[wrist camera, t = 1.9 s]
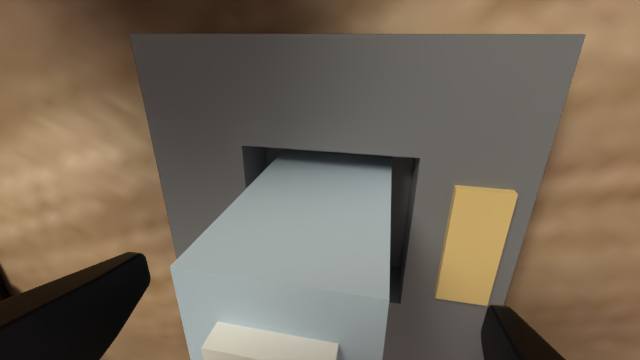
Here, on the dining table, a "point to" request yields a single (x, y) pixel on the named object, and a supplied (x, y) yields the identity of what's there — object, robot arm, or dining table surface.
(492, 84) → the panel
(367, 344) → the plug
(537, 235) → the dining table surface
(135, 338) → the dining table surface
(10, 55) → the dining table surface
